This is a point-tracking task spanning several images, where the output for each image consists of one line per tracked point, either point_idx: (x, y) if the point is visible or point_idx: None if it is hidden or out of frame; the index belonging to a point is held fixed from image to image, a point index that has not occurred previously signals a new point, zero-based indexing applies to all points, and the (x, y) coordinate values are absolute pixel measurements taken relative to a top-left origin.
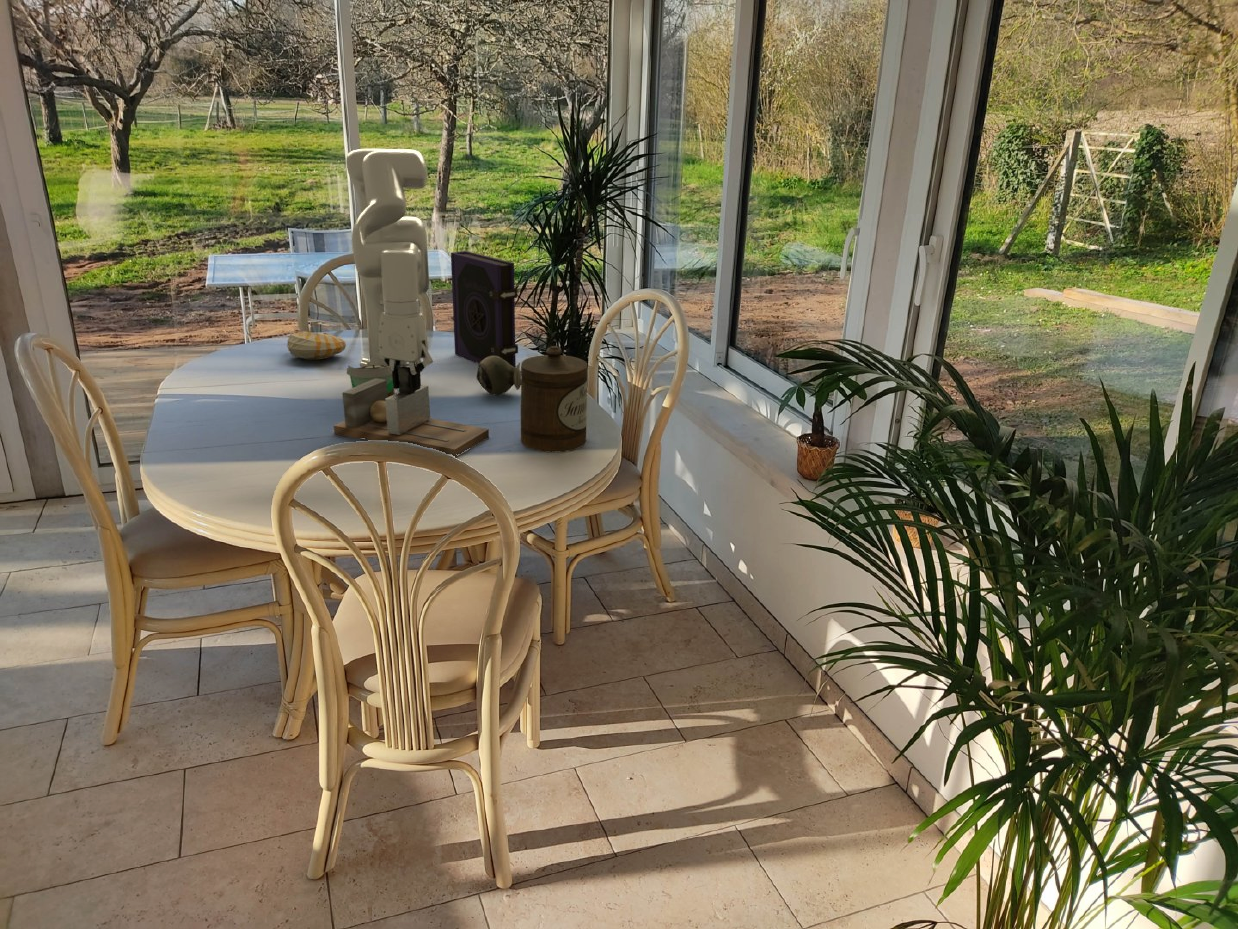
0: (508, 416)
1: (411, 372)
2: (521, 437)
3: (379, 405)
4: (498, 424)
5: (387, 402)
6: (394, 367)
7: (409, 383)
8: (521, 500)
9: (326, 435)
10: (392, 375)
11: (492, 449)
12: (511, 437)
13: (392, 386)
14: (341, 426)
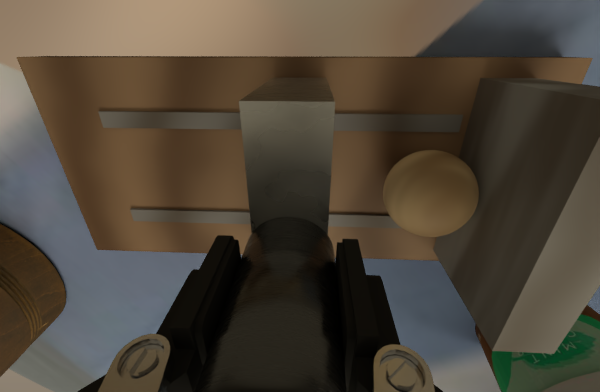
0: None
1: (164, 353)
2: (6, 243)
3: (433, 186)
4: (162, 304)
5: (318, 97)
6: (372, 390)
7: (223, 270)
8: None
9: (592, 26)
10: (390, 318)
11: (34, 170)
12: (73, 254)
13: (496, 372)
14: (552, 64)
